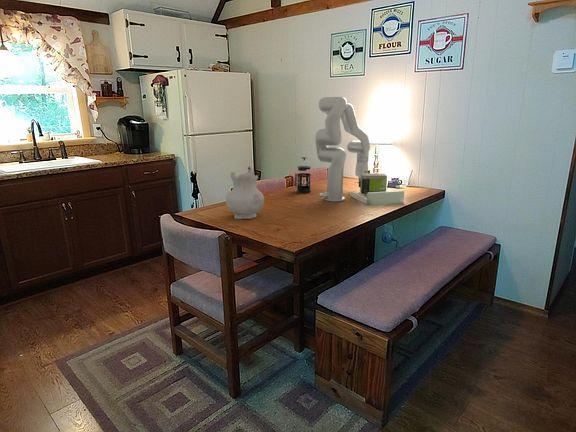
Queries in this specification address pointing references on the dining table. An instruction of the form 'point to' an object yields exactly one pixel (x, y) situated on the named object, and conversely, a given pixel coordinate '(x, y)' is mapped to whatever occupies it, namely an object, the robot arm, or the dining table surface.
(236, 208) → the ceramic pitcher
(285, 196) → the dining table surface
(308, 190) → the french press
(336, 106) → the robot arm
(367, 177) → the tea box
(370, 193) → the bay
